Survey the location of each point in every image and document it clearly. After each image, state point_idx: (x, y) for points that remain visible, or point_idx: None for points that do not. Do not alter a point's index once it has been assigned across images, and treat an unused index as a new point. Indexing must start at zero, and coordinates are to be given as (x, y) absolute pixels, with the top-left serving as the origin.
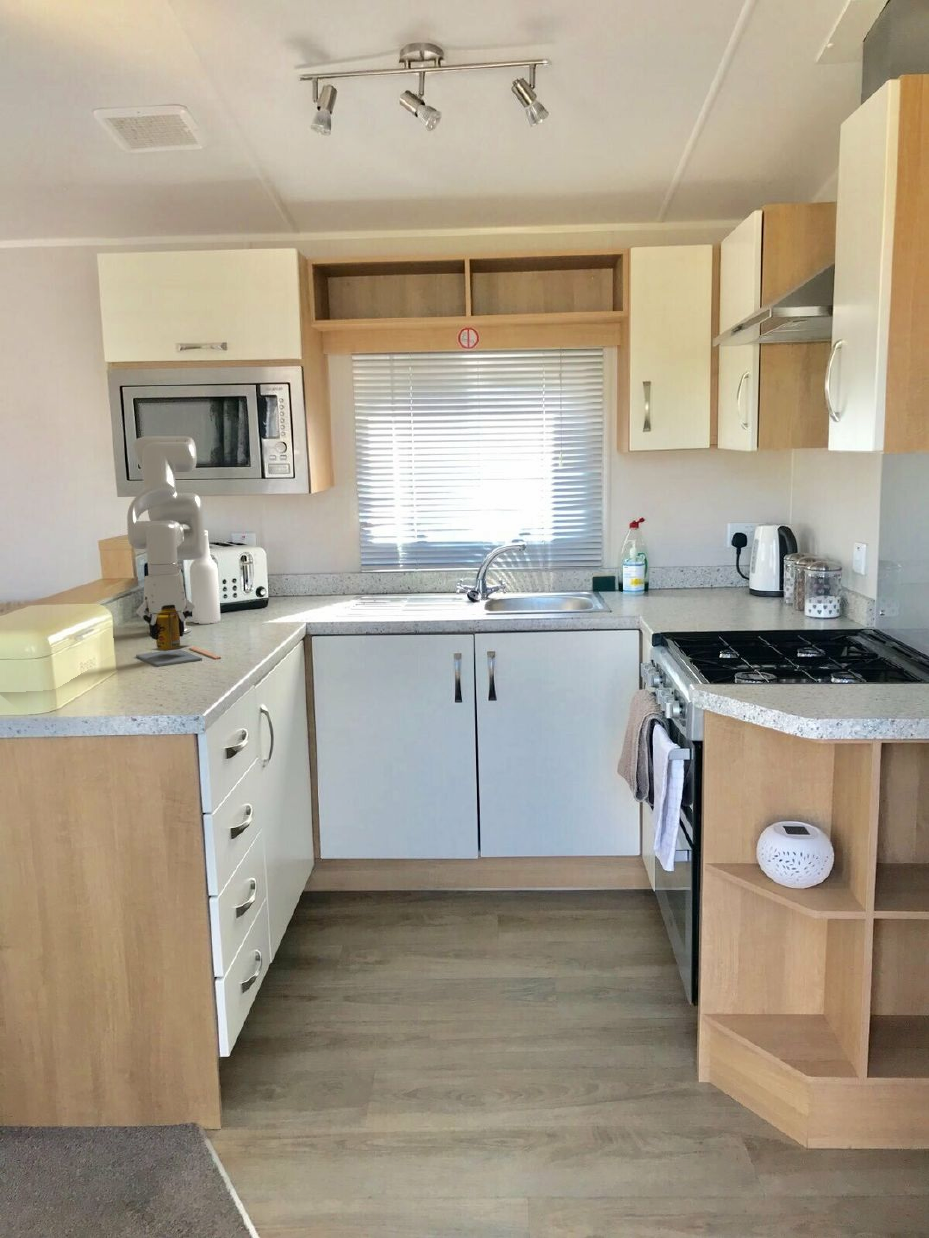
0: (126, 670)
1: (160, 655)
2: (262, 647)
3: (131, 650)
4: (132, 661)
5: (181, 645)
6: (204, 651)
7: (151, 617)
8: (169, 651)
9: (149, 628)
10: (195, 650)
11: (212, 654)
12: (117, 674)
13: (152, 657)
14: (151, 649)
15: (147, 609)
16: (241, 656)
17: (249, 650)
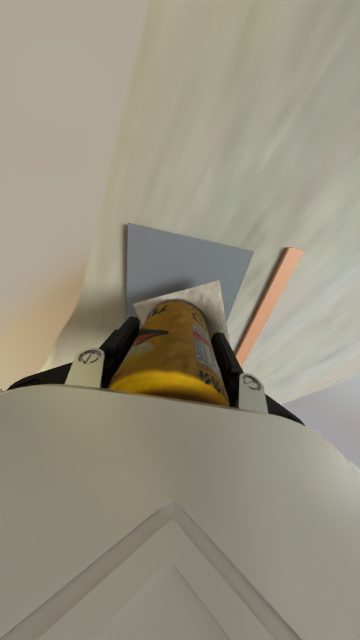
0: (72, 341)
1: (170, 291)
2: (354, 360)
3: (168, 41)
4: (103, 274)
5: (217, 322)
6: (262, 323)
7: (87, 383)
8: (214, 262)
9: (104, 343)
10: (266, 292)
11: (244, 356)
12: (52, 354)
13: (145, 297)
14: (135, 309)
15: (13, 399)
16: (263, 386)
17: (317, 363)
